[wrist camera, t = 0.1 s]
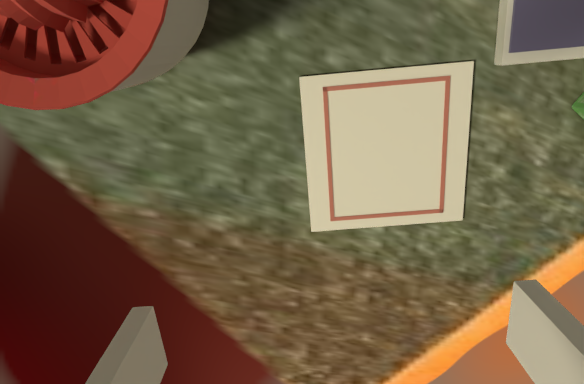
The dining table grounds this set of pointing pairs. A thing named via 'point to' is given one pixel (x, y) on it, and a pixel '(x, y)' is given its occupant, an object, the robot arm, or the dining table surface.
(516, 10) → the ink pad
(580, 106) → the ink box
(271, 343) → the dining table surface
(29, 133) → the dining table surface
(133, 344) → the robot arm
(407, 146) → the paper
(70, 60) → the citrus juicer
